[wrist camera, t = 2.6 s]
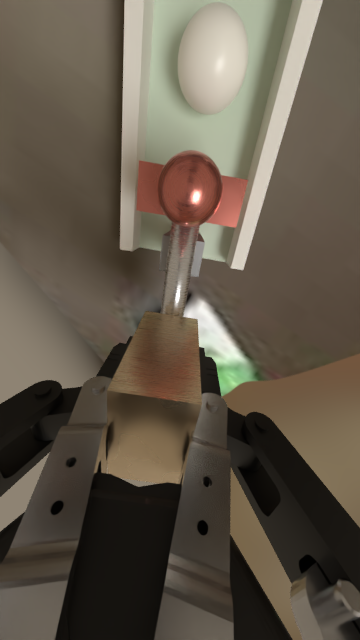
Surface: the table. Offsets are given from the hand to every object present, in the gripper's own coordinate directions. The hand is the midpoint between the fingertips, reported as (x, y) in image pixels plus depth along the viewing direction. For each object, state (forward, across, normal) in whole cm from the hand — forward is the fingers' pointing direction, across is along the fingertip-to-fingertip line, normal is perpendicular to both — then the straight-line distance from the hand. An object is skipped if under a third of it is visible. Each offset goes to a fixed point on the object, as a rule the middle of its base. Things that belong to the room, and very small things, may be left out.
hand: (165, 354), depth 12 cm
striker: (+8, 0, -4) cm, 9 cm away
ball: (+7, 0, -16) cm, 17 cm away
